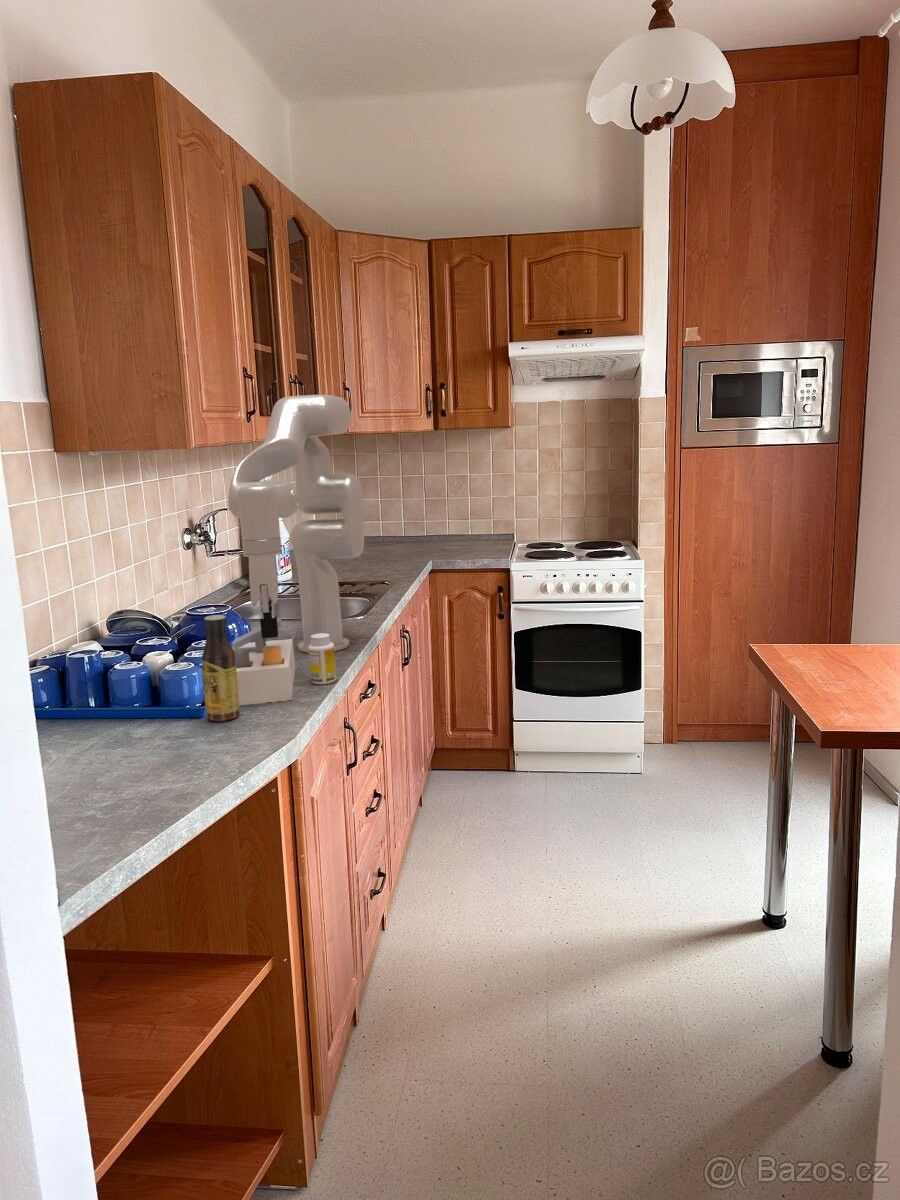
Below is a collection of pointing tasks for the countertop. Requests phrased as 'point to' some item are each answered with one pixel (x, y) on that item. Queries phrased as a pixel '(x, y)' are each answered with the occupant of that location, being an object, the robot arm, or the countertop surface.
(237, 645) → the rocker
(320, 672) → the supplement bottle
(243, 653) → the button charcoal
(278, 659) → the button orange
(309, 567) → the robot arm
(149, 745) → the countertop surface
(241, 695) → the panel
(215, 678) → the sauce bottle
